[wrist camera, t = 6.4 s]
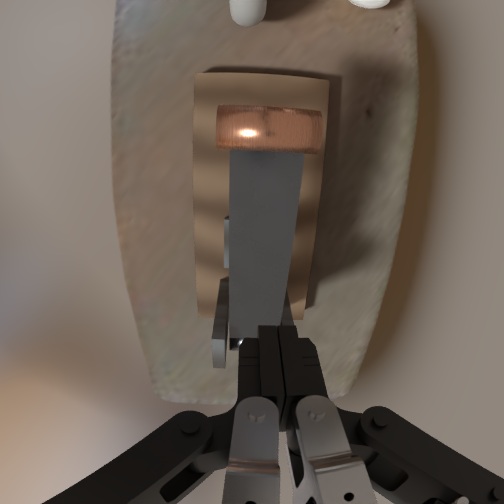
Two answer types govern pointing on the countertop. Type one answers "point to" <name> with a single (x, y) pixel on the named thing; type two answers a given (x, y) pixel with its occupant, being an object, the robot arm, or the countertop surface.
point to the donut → (248, 11)
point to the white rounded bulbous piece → (370, 3)
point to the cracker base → (217, 191)
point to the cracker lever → (263, 205)
